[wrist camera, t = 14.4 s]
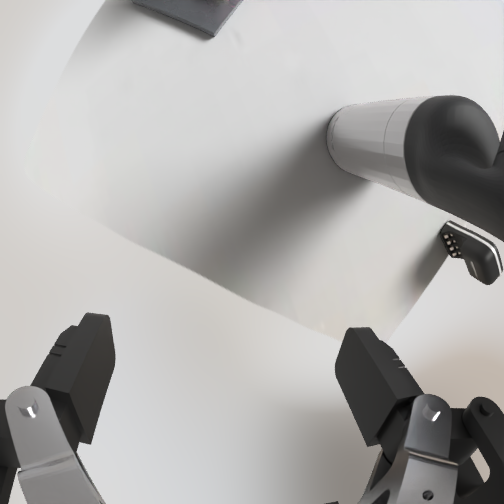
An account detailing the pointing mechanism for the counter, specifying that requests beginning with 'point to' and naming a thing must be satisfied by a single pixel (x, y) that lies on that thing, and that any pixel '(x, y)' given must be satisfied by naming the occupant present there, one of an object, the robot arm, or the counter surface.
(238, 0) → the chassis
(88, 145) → the counter surface
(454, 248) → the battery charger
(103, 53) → the counter surface
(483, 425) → the robot arm
